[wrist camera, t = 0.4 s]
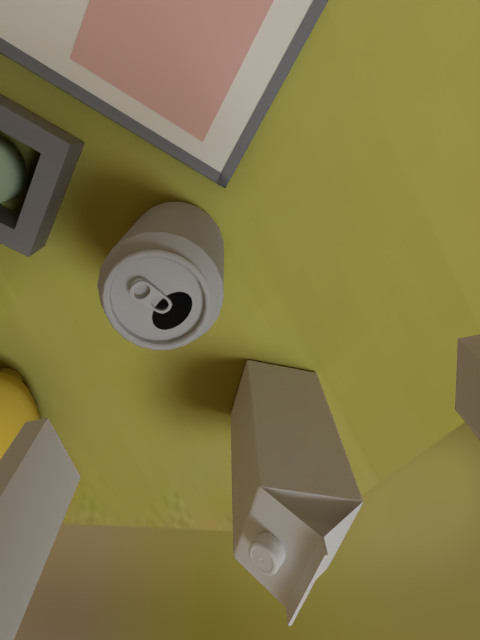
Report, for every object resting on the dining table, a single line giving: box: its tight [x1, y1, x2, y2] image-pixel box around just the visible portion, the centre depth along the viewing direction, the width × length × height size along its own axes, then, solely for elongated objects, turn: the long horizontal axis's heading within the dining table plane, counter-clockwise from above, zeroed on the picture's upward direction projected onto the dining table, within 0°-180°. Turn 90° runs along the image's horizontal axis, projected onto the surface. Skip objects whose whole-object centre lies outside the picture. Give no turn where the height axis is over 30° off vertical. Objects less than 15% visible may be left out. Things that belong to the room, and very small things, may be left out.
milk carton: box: [231, 360, 363, 626], centre depth 32 cm, size 7×7×19 cm
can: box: [98, 202, 224, 350], centre depth 28 cm, size 8×8×12 cm
